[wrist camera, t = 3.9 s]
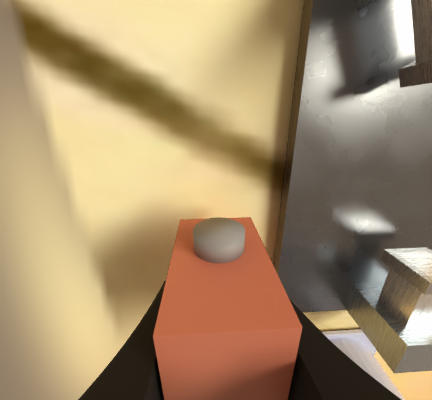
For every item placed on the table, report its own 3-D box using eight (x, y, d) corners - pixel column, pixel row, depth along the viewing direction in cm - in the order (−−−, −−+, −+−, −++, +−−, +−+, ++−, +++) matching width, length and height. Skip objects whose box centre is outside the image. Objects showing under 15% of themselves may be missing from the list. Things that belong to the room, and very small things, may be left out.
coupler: (245, 312, 13) (275, 457, 7) (188, 316, 13) (176, 465, 7) (251, 203, 10) (307, 302, 5) (179, 205, 10) (148, 311, 5)
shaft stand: (402, 295, 17) (484, 369, 12) (269, 303, 17) (297, 383, 12) (598, -158, 8) (1222, -594, 3) (324, -174, 8) (555, -732, 3)
